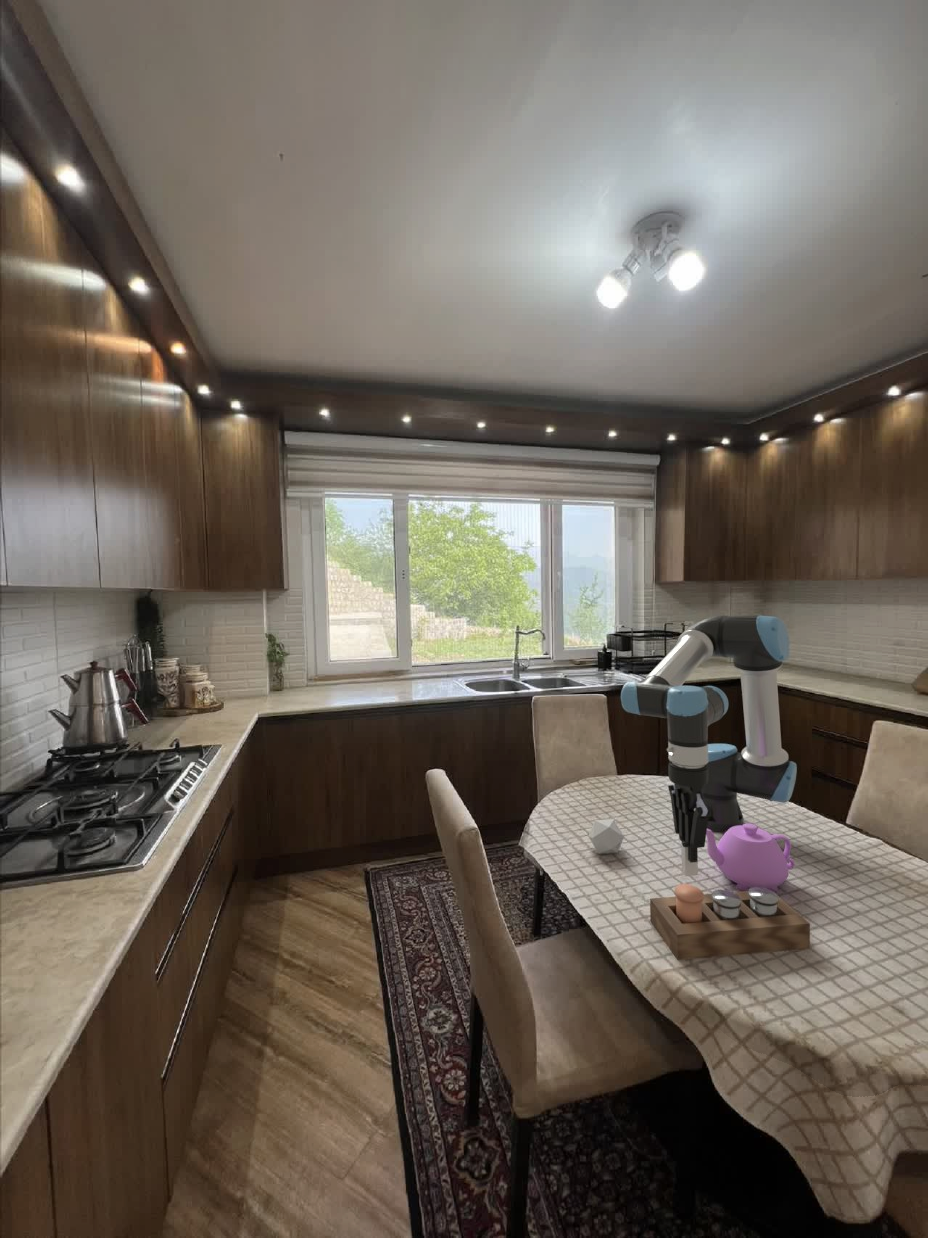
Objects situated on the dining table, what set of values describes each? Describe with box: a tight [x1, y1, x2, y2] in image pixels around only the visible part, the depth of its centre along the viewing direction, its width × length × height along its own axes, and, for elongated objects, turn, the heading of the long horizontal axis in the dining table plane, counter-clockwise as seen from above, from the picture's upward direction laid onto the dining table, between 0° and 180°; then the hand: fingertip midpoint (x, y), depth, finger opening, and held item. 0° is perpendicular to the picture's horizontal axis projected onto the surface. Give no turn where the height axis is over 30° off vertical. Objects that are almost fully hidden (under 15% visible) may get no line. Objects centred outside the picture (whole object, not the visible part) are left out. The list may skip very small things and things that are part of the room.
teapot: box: [706, 822, 795, 893], centre depth 127 cm, size 22×16×14 cm
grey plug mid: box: [711, 889, 741, 921], centre depth 107 cm, size 5×5×7 cm
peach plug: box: [674, 883, 704, 924], centre depth 107 cm, size 5×5×7 cm
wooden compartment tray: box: [649, 889, 811, 961], centre depth 108 cm, size 27×12×5 cm, turn 95°
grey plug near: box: [749, 887, 780, 917], centre depth 108 cm, size 5×5×7 cm
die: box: [588, 819, 625, 855], centre depth 143 cm, size 8×9×10 cm
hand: (689, 873), depth 109 cm, fingers closed
